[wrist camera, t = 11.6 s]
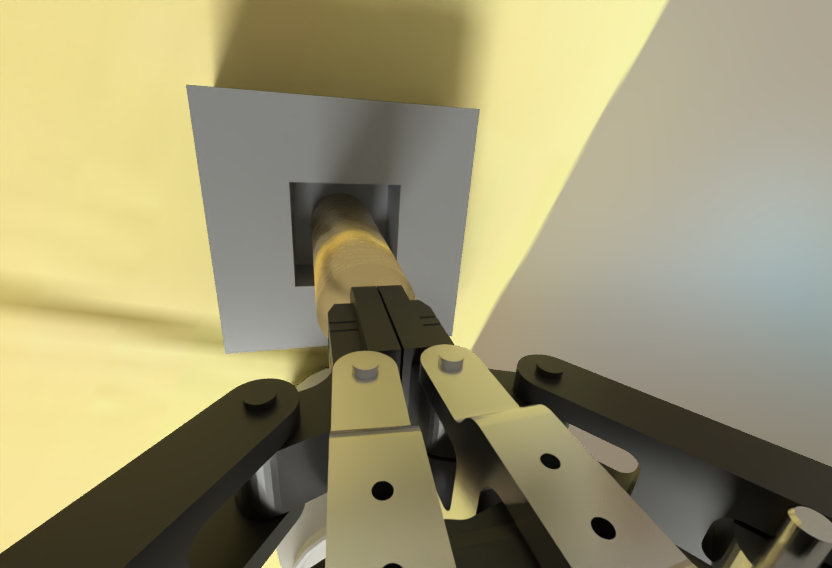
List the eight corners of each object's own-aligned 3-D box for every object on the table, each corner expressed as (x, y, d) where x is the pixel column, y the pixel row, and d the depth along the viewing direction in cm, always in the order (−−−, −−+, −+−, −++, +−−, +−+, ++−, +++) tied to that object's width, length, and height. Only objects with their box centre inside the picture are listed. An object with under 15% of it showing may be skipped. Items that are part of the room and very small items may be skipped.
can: (271, 432, 28) (250, 627, 17) (307, 346, 26) (310, 509, 15) (366, 447, 31) (398, 622, 20) (405, 371, 29) (464, 522, 18)
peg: (308, 193, 20) (313, 266, 11) (370, 193, 21) (418, 261, 12) (312, 251, 22) (318, 356, 13) (370, 249, 22) (413, 346, 14)
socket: (213, 90, 19) (186, 84, 15) (444, 109, 22) (479, 109, 18) (240, 308, 24) (225, 353, 19) (427, 298, 27) (451, 336, 23)
